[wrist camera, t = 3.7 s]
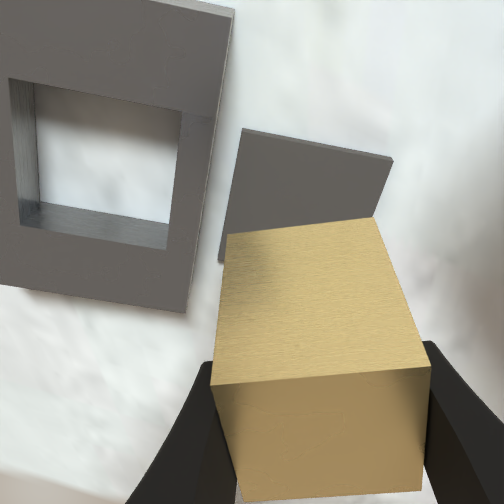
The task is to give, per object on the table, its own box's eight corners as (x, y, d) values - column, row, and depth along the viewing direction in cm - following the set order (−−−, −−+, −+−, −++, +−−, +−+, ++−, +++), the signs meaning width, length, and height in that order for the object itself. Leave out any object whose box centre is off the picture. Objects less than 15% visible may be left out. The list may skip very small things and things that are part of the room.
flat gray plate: (391, 157, 19) (393, 161, 19) (345, 276, 22) (347, 281, 22) (242, 127, 19) (242, 131, 18) (218, 254, 22) (217, 259, 22)
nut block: (373, 217, 15) (431, 366, 10) (375, 326, 17) (421, 490, 12) (227, 234, 15) (210, 385, 10) (249, 338, 18) (243, 501, 13)
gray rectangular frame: (234, 9, 16) (231, 17, 15) (190, 285, 23) (185, 313, 21) (-11, -45, 16) (-43, -42, 14) (17, 257, 22) (-3, 283, 20)
